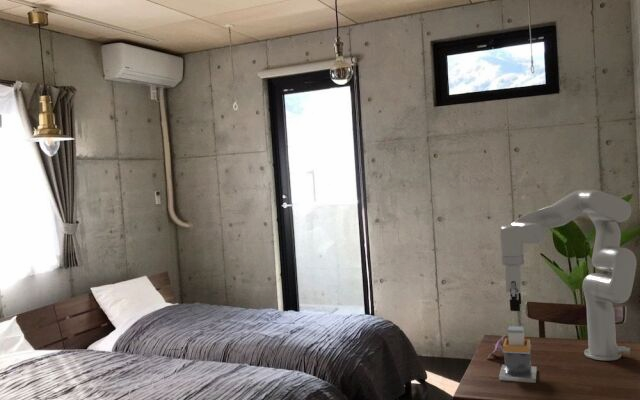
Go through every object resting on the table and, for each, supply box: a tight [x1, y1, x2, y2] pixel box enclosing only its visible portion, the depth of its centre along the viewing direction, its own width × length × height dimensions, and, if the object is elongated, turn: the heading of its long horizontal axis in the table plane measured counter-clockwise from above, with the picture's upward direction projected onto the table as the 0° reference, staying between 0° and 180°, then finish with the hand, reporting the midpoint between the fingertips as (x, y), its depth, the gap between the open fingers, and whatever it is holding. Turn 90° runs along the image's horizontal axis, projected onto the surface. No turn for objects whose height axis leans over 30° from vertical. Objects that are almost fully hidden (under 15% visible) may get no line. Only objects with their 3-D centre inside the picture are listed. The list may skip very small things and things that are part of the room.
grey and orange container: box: [498, 338, 538, 384], centre depth 202 cm, size 12×12×12 cm
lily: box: [487, 333, 507, 358], centre depth 222 cm, size 12×12×10 cm
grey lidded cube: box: [507, 325, 525, 346], centre depth 202 cm, size 5×5×7 cm
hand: (516, 307), depth 202 cm, fingers open, 9 cm apart
